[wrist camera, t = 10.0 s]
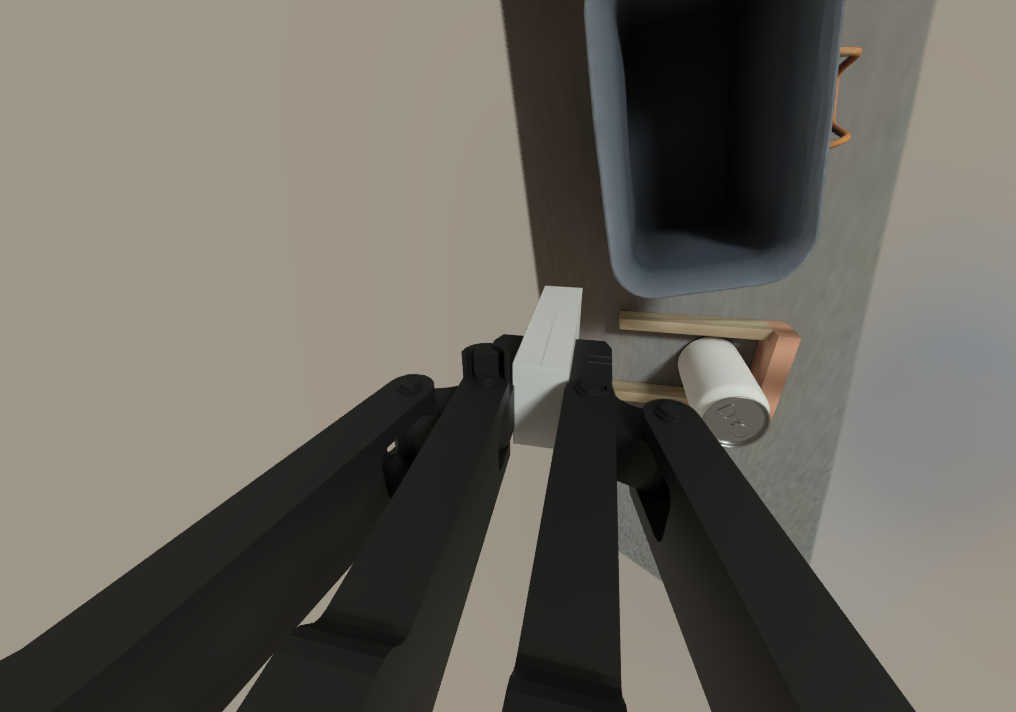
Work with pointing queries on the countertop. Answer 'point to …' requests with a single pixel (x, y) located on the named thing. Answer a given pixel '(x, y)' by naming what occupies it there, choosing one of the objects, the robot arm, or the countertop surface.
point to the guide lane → (771, 350)
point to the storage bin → (713, 136)
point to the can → (724, 392)
